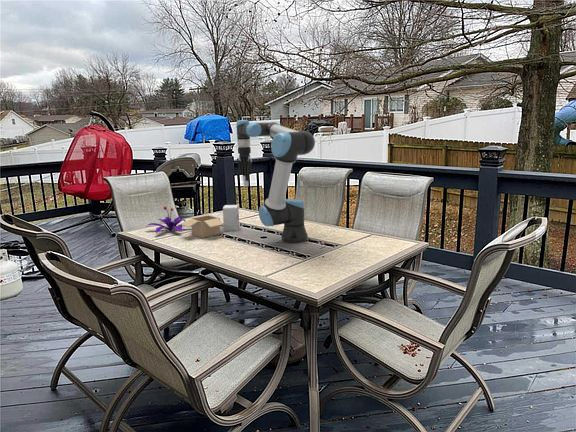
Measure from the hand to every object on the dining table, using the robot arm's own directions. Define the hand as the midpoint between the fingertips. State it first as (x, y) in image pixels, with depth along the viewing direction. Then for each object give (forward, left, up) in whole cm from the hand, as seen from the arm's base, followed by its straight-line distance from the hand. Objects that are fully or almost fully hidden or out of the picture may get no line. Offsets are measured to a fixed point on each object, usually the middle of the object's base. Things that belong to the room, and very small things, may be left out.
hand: (246, 186), depth 255 cm
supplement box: (+12, +4, -29) cm, 31 cm away
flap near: (+7, +22, -18) cm, 29 cm away
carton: (+15, +20, -28) cm, 38 cm away
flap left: (+13, +28, -18) cm, 36 cm away
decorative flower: (+37, +33, -29) cm, 57 cm away
